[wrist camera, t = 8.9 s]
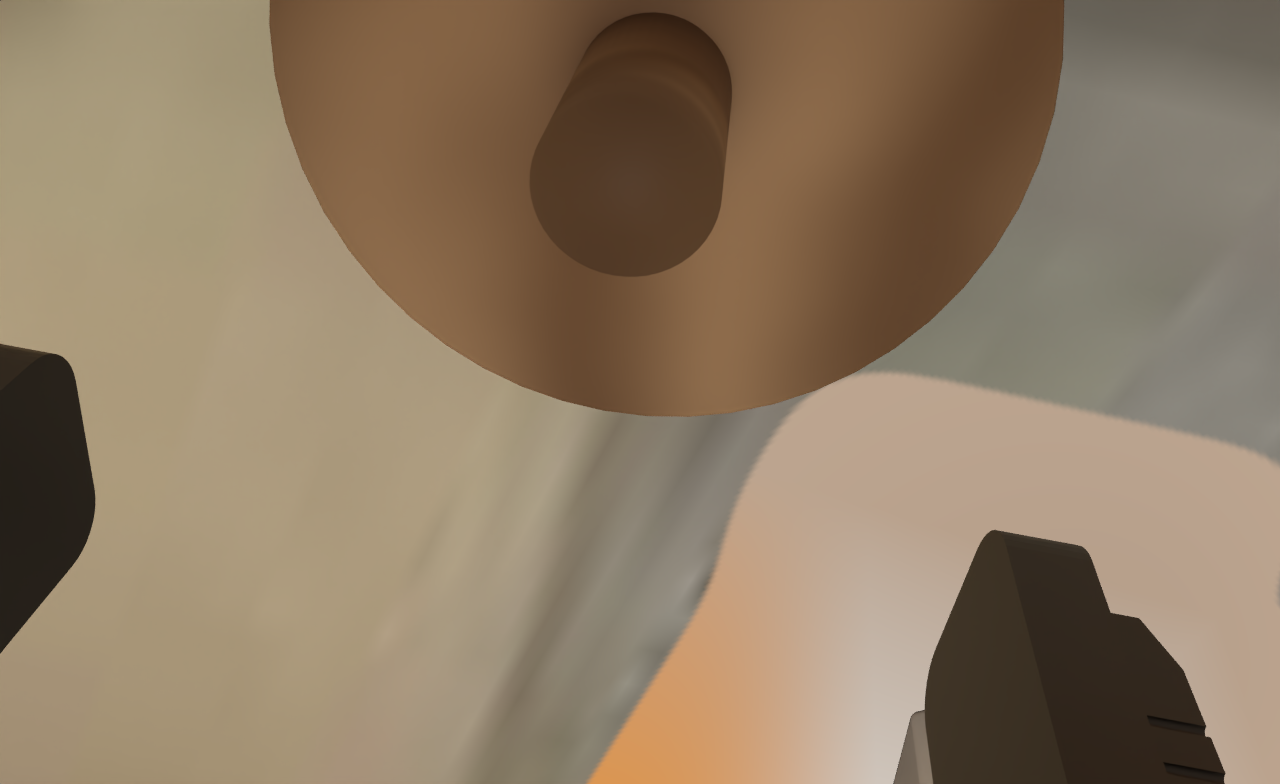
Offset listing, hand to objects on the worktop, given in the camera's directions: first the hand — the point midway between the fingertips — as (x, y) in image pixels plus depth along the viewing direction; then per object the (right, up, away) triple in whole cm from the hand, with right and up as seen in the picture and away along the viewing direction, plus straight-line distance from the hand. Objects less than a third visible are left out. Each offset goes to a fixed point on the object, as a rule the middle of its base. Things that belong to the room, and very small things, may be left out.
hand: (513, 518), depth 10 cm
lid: (+1, +7, +11) cm, 13 cm away
